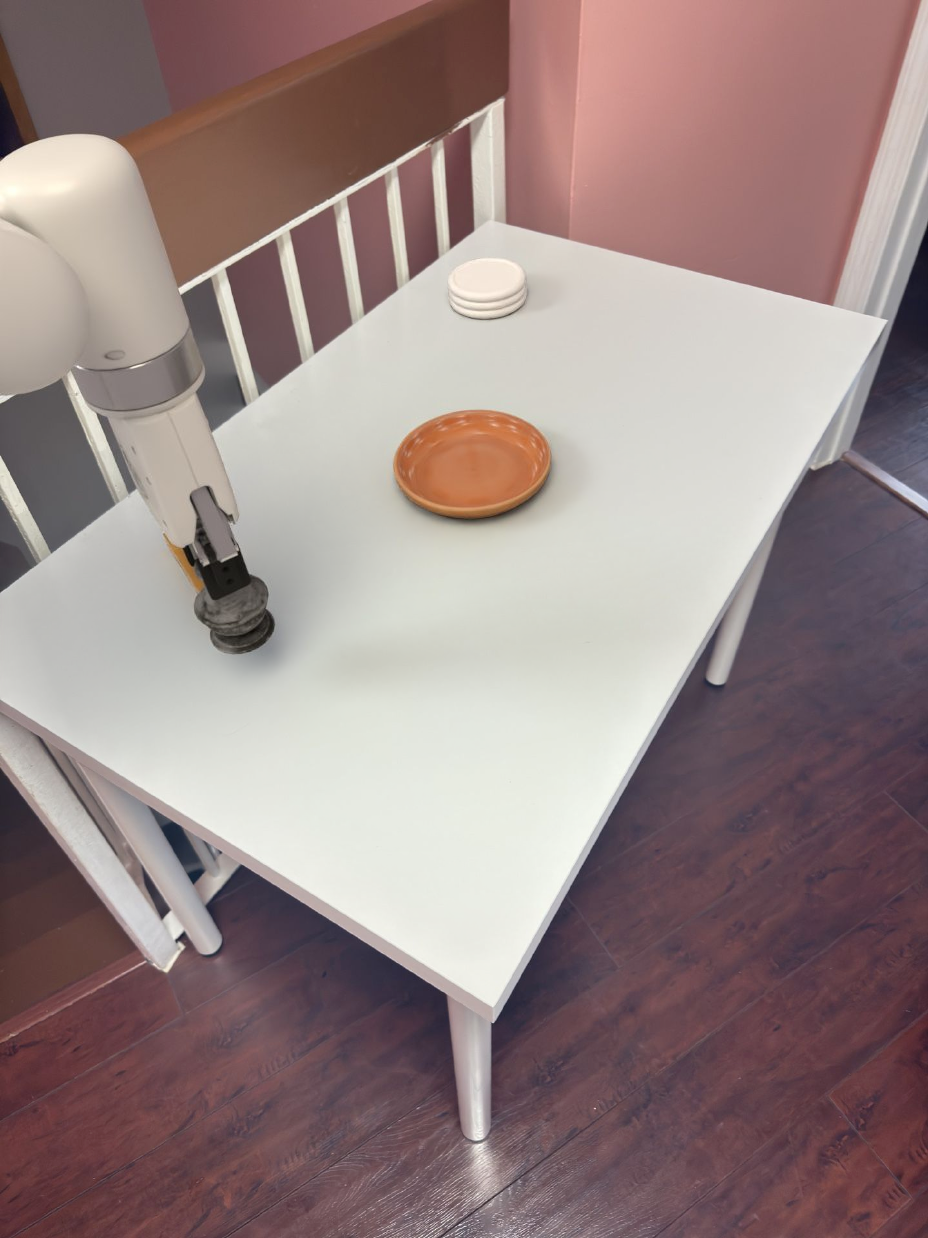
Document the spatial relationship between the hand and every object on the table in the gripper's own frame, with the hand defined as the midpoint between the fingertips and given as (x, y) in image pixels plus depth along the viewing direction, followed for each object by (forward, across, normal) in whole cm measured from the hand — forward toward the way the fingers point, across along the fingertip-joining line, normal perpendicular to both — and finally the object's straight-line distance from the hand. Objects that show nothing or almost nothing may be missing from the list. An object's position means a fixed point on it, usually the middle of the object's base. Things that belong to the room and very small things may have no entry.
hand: (219, 572), depth 69 cm
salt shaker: (+7, 0, 0) cm, 7 cm away
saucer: (+13, -11, +29) cm, 34 cm away
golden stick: (+13, -14, 0) cm, 19 cm away
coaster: (+13, -40, +50) cm, 65 cm away
